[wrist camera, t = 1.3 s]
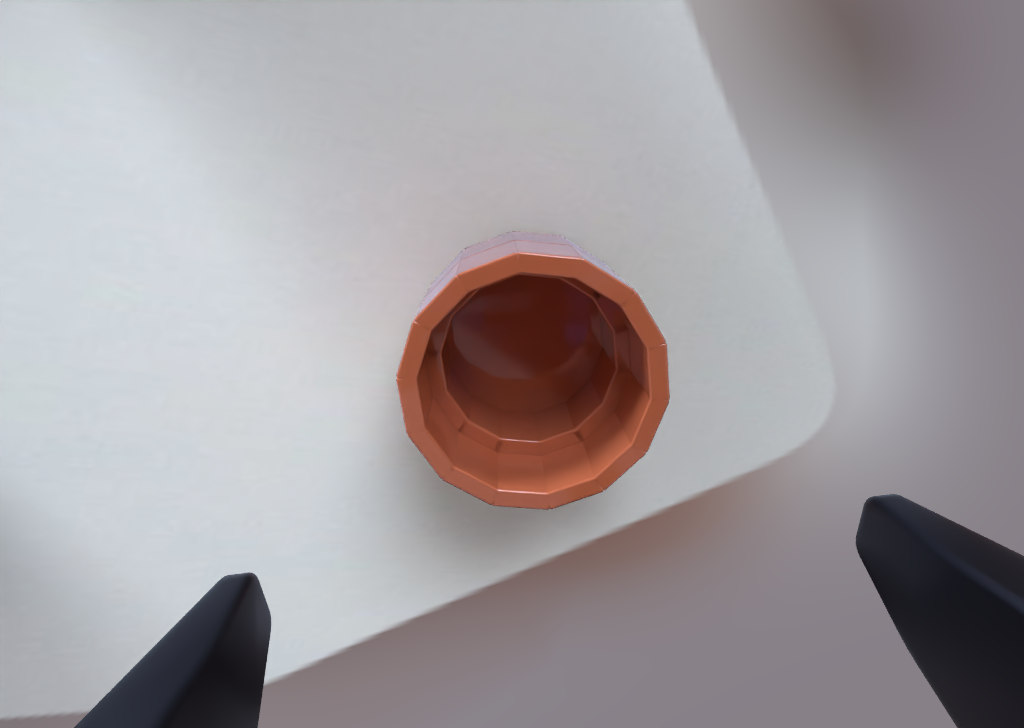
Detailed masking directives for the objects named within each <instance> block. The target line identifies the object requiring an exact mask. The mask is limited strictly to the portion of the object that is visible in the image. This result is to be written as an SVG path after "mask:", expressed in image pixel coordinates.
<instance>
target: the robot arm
mask: <svg viewBox="0 0 1024 728" xmlns="http://www.w3.org/2000/svg"><path fill="white" fill-rule="evenodd" d="M856 546H857V550H858V553H859V555H860V558H861V559H862V561H863V563H864V565H865V567H866V569H867V571H868V573H869V575H870V577H871V579H872V581H873V583H874V585H875V587H876V589H877V591H878V593H879V595H880V597H881V599H882V601H883V603H884V605H885V607H886V609H887V611H888V613H889V615H890V617H891V618H892V620H893V622H894V624H895V626H896V628H897V630H898V632H899V634H900V636H901V638H902V640H903V641H904V643H905V645H906V647H907V649H908V650H909V652H910V653H911V655H912V657H913V658H914V660H915V662H916V663H917V665H918V667H919V668H920V670H921V671H922V673H923V674H924V676H925V678H926V679H927V681H928V682H929V684H930V685H931V687H932V688H933V690H934V692H935V693H936V695H937V696H938V698H939V700H940V701H941V702H942V704H943V706H944V707H945V709H946V710H947V712H948V714H949V715H950V717H951V718H952V720H953V722H954V723H955V724H956V726H957V727H958V728H1024V556H1022V555H1021V554H1018V553H1016V552H1014V551H1012V550H1010V549H1008V548H1006V547H1004V546H1002V545H1000V544H998V543H996V542H994V541H992V540H990V539H988V538H986V537H984V536H982V535H980V534H978V533H975V532H974V531H971V530H969V529H967V528H965V527H963V526H961V525H959V524H957V523H955V522H953V521H951V520H949V519H947V518H945V517H943V516H941V515H939V514H937V513H935V512H933V511H930V510H928V509H927V508H924V507H922V506H920V505H918V504H916V503H914V502H912V501H910V500H908V499H906V498H904V497H902V496H900V495H895V494H890V495H882V496H873V497H870V498H868V499H867V501H866V502H865V504H864V507H863V511H862V515H861V519H860V524H859V527H858V531H857V535H856ZM270 632H271V615H270V611H269V608H268V605H267V602H266V599H265V597H264V594H263V591H262V588H261V585H260V583H259V580H258V578H257V576H256V575H255V574H253V573H242V574H234V575H228V576H225V577H223V578H222V579H220V580H219V581H218V582H217V583H216V584H215V585H214V586H213V587H212V588H211V589H210V590H209V591H208V592H207V593H206V594H205V595H204V596H203V597H202V599H201V600H200V601H199V602H198V603H197V604H196V605H195V606H194V607H193V608H192V609H191V610H190V611H189V612H188V613H187V614H186V615H185V616H184V617H183V618H182V619H181V620H180V621H179V622H178V623H177V624H176V625H175V626H174V627H173V628H172V629H171V630H170V631H169V632H168V633H167V634H166V635H165V636H164V637H163V638H162V639H161V640H160V641H159V642H158V643H157V644H156V645H155V646H154V647H153V648H152V649H151V650H150V651H149V652H148V653H147V654H146V655H145V656H144V657H143V658H142V659H141V660H140V661H139V662H138V663H137V664H136V665H135V666H134V667H133V668H132V669H131V671H130V672H129V673H128V674H127V675H126V676H125V677H124V678H123V679H122V680H121V681H120V682H119V683H118V684H117V685H116V686H115V687H114V688H113V689H112V690H111V691H110V692H109V693H108V694H107V695H106V696H105V697H104V698H103V699H102V700H101V701H100V702H99V703H98V704H97V705H96V706H95V707H94V708H93V709H92V710H91V711H90V712H89V713H88V714H87V715H86V716H85V717H84V718H83V719H82V720H81V721H80V722H79V723H78V724H77V725H76V726H75V727H74V728H257V727H258V720H259V713H260V706H261V698H262V691H263V684H264V676H265V669H266V662H267V654H268V647H269V639H270Z"/></svg>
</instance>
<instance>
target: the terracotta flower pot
mask: <svg viewBox="0 0 1024 728" xmlns="http://www.w3.org/2000/svg"><path fill="white" fill-rule="evenodd" d="M665 342H666V341H665V339H664V337H663V335H662V333H661V332H660V330H659V328H658V327H657V325H656V323H655V322H654V320H653V318H652V317H651V315H650V313H649V312H648V310H647V308H646V307H645V305H644V303H643V301H642V300H641V298H640V296H639V295H638V293H637V292H636V291H635V290H634V289H633V288H632V287H631V286H630V285H629V284H627V283H626V282H625V281H624V280H623V279H622V278H621V277H620V276H619V275H617V274H616V273H615V272H614V271H613V270H612V269H610V268H609V267H608V266H607V265H606V264H605V263H604V262H603V261H601V260H600V259H598V258H597V257H595V256H593V255H592V254H590V253H589V252H587V251H585V250H584V249H582V248H581V247H579V246H577V245H576V244H574V243H573V242H571V241H569V240H568V239H566V238H565V237H562V236H559V235H548V234H538V233H528V232H517V231H512V232H507V233H505V234H502V235H499V236H497V237H494V238H491V239H489V240H486V241H483V242H481V243H478V244H475V245H473V246H470V247H467V248H465V249H464V250H463V251H461V252H460V253H459V254H458V256H457V257H456V258H455V259H454V260H453V261H452V262H451V263H450V264H449V265H448V266H447V267H446V268H445V269H444V270H443V271H442V273H441V274H440V275H439V276H438V277H437V278H436V279H435V280H434V281H433V282H432V283H431V285H430V287H429V288H428V290H427V293H426V295H425V297H424V299H423V301H422V303H421V305H420V307H419V309H418V311H417V313H416V315H415V317H414V320H413V322H412V325H411V328H410V331H409V335H408V338H407V341H406V345H405V348H404V352H403V355H402V358H401V362H400V365H399V368H398V372H397V379H396V381H397V386H398V391H399V397H400V402H401V407H402V412H403V417H404V423H405V428H406V432H407V434H408V436H409V438H410V439H411V440H412V442H413V443H414V444H415V446H416V447H417V448H418V449H419V451H420V452H421V453H422V455H423V456H424V457H425V459H426V460H427V461H428V462H429V464H430V465H431V466H432V468H433V469H434V470H435V472H436V473H437V474H438V475H439V477H440V478H441V479H443V480H444V481H446V482H447V483H449V484H451V485H453V486H455V487H457V488H459V489H461V490H463V491H465V492H467V493H469V494H471V495H473V496H474V497H476V498H478V499H480V500H482V501H484V502H486V503H488V504H490V505H492V504H493V505H494V506H504V507H518V508H532V509H546V510H548V509H549V508H550V509H553V508H556V507H559V506H562V505H565V504H568V503H571V502H574V501H577V500H580V499H583V498H586V497H589V496H592V495H594V494H597V493H600V492H603V490H606V489H607V488H608V487H609V486H610V485H612V484H613V483H614V482H615V481H616V480H617V479H618V478H619V477H620V476H622V475H623V474H624V473H625V472H626V471H627V470H628V469H629V468H631V467H632V466H633V465H634V464H635V463H636V462H637V461H638V460H639V459H641V458H642V457H643V456H644V455H645V454H646V452H647V451H648V449H649V447H650V444H651V442H652V440H653V437H654V435H655V433H656V431H657V428H658V426H659V424H660V421H661V419H662V417H663V414H664V412H665V410H666V407H667V405H668V403H669V398H670V395H669V377H668V358H667V344H666V343H665Z"/></svg>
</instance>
